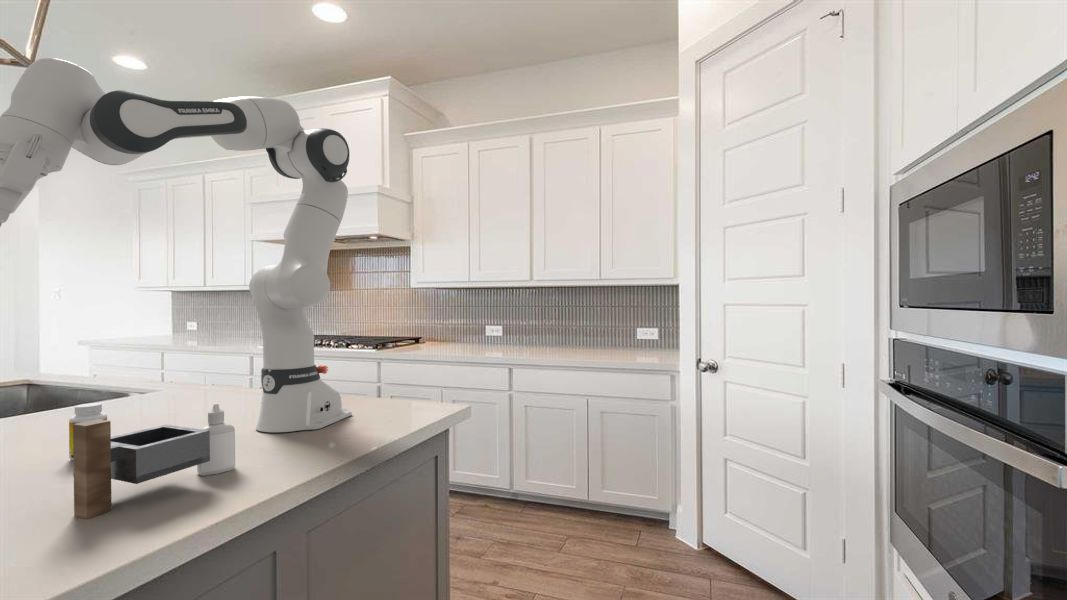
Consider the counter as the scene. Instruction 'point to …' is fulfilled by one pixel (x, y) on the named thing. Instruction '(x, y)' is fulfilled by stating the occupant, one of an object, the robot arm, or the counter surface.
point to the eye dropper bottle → (219, 444)
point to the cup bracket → (128, 459)
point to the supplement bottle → (84, 419)
